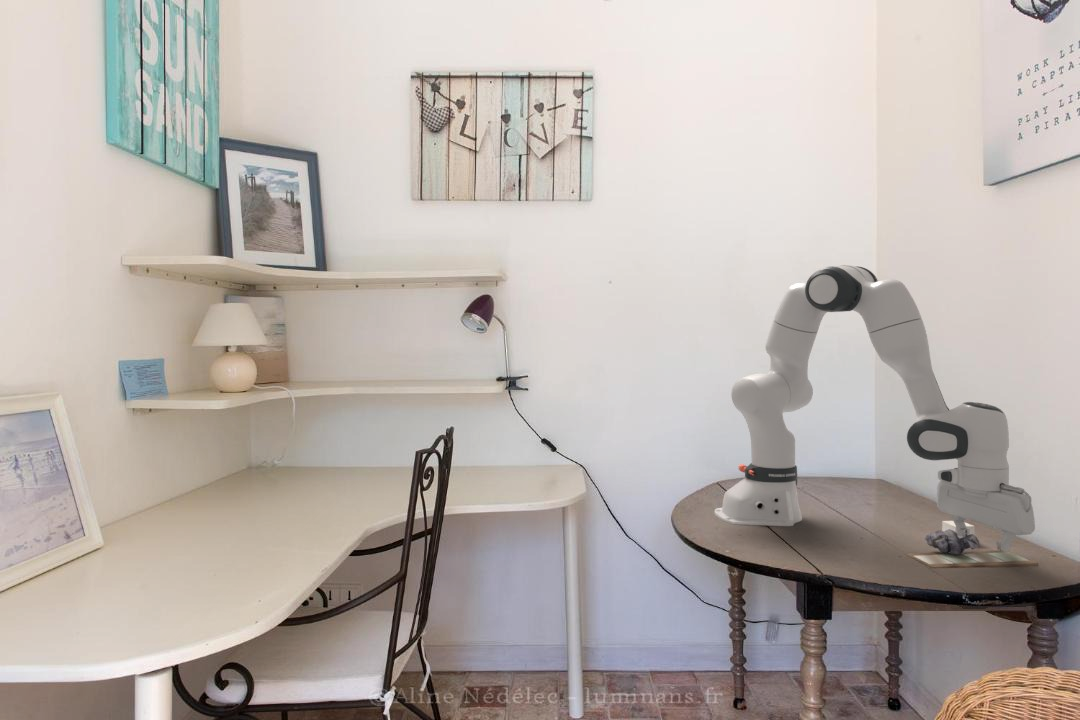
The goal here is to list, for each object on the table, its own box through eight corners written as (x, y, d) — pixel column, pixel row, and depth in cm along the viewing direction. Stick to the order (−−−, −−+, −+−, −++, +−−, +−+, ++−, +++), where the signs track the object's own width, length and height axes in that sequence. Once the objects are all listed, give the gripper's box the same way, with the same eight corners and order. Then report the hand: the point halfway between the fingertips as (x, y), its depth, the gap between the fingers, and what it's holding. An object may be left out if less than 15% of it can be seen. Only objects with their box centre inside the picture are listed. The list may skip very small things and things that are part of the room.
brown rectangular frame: (931, 569, 126) (931, 566, 126) (906, 556, 134) (906, 553, 134) (1038, 565, 127) (1038, 562, 127) (1006, 552, 135) (1006, 550, 135)
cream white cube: (955, 546, 140) (955, 526, 140) (942, 539, 145) (942, 521, 145) (974, 545, 140) (974, 526, 140) (960, 539, 145) (960, 520, 145)
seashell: (979, 535, 129) (923, 526, 135) (978, 561, 128) (922, 550, 134) (980, 533, 133) (926, 524, 139) (980, 558, 132) (925, 548, 138)
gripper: (1043, 489, 121) (1043, 558, 121) (954, 468, 141) (954, 528, 141) (1017, 491, 119) (1017, 561, 120) (931, 470, 139) (931, 530, 140)
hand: (982, 543), depth 130 cm, fingers open, 8 cm apart
